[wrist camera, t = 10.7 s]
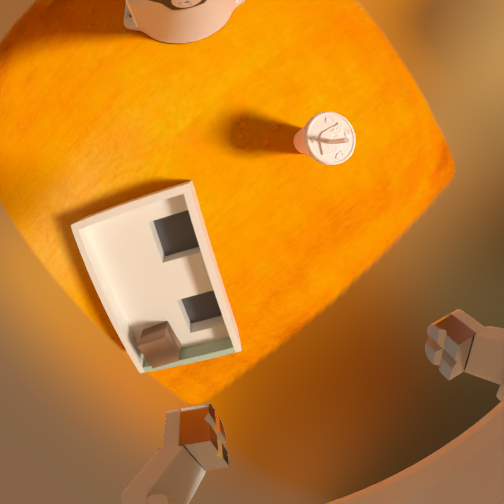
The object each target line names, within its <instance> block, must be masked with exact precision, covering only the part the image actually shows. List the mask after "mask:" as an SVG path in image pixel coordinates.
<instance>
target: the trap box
mask: <svg viewBox="0 0 504 504" xmlns="http://www.w3.org/2000/svg"><path fill="white" fill-rule="evenodd" d="M70 226H71V229H72V232H73V234H74V237H75V240H76V243H77V245H78V248H79V251H80V253H81V256H82V258H83V261H84V263H85V266H86V268H87V271H88V273H89V275H90V278H91V280H92V282H93V285H94V287H95V289H96V291H97V294H98V296H99V298H100V300H101V302H102V304H103V306H104V308H105V311H106V313H107V315H108V317H109V319H110V321H111V323H112V325H113V326H114V328H115V330H116V332H117V334H118V336H119V338H120V340H121V341H122V343H123V345H124V347H125V349H126V350H127V352H128V354H129V356H130V357H131V359H132V361H133V363H134V364H135V366H136V368H137V369H138V371H139V372H140V373H144V372H149V371H155V370H160V369H165V368H170V367H175V366H180V365H184V364H189V363H193V362H198V361H202V360H206V359H211V358H215V357H219V356H223V355H227V354H231V353H235V352H238V351H242V349H241V343H240V338H239V333H238V328H237V325H236V322H235V319H234V316H233V313H232V310H231V307H230V304H229V301H228V298H227V295H226V291H225V288H224V285H223V282H222V279H221V276H220V272H219V269H218V266H217V263H216V260H215V256H214V253H213V250H212V246H211V243H210V240H209V236H208V233H207V230H206V226H205V223H204V220H203V216H202V213H201V209H200V206H199V202H198V199H197V195H196V192H195V188H194V185H193V181H192V180H191V181H187V182H184V183H181V184H177V185H174V186H171V187H168V188H165V189H161V190H158V191H155V192H152V193H149V194H146V195H143V196H140V197H137V198H134V199H132V200H129V201H126V202H123V203H120V204H118V205H115V206H112V207H109V208H107V209H104V210H101V211H99V212H96V213H94V214H91V215H88V216H86V217H84V218H82V219H81V220H79V221H77V222H75V223H73V224H71V225H70ZM166 321H168V322H169V324H170V326H171V328H172V329H173V331H174V333H175V334H176V336H177V338H178V339H179V341H180V343H181V345H180V355H179V361H177V362H173V363H170V364H167V365H163V366H160V367H156V368H152V367H151V365H150V364H149V362H148V361H147V360H146V358H145V357H144V355H143V354H142V352H141V351H140V349H139V348H138V343H139V340H140V337H141V334H142V331H143V329H146V328H149V327H152V326H155V325H158V324H160V323H163V322H166Z"/></svg>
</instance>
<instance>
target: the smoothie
mask: <svg viewBox="0 0 504 504" xmlns="http://www.w3.org/2000/svg"><path fill="white" fill-rule="evenodd" d="M355 142H356V138H355V133H354V130H353V127H352V126H351V124H350V123H349V121H348V120H347V119H346V118H344V117H343V116H342V115H340V114H337V113H334V112H322V113H319V114H316V115H315V116H313V117H312V118H311V119H310V120H309V121H308V122H307V124H306V126H304V127H303V128H302V129H301V130H299V131H298V132H297V133H296V134H295V136H294V139H293V144H294V147H295V148H296V150H297V151H298V152H300V153H302V154H305V155H308V156H310V157H313V158H314V159H315V160H316V161H318V162H320V163H322V164H327V165H336V164H340V163H342V162H344V161H346V160H347V159H348V158H349V157H350V156H351V155H352V153H353V151H354V148H355Z"/></svg>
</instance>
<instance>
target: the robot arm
mask: <svg viewBox="0 0 504 504" xmlns="http://www.w3.org/2000/svg"><path fill="white" fill-rule="evenodd" d="M125 1H126V3H125V11H124V20H123V23H124V26H125V28H127V29H130V30H137V31H142V32H144V33H145V34H147V35H148V36H150V37H152V38H153V39H156V40H158V41H161V42H166V43H188V42H193V41H197V40H200V39H203V38H205V37H208V36H210V35H212V34H213V33H215V32H216V31H218V30H219V29H220V28H221V27H222V26H223V25H224V24H225V23H226V22H227V21H228V19H229V18H230V16H231V14H232V12H233V10H234V9H235V8H236V7H238V6H239V5H241V4H242V3H243V2H244V1H245V0H125ZM130 16H132V17H130ZM427 334H428V335H429V336H430V337H429V338H428V340H427V342H426V348H425V350H426V354H427V357H428V359H429V360H430V361H431V362H432V363H433V364H435V365H439V371H440V372H441V373H442V374H443V375H444V376H445V377H446V378H447V379H448V380H451V379H452V378H454V377H455V376H457V375H458V374H460V373H462V372H463V371H465V372H466V373H469V374H472V375H475V376H478V377H480V378H483V379H486V380H489V381H492V382H494V383H497V384H500V385H501V386H500V388H499V391H498V393H497V397H498V399H499V400H500V401H501V402H500V403H499V404H498V405H497V406H496V407H495V408H494V409H493V410H492V411H490V412H489V413H488V414H487V415H486V416H484V417H483V418H482V419H481V420H480V421H478V422H477V423H476V424H474V425H473V426H472V427H470V428H469V429H468V430H467V431H465V432H464V433H463V434H461V435H460V436H458V437H457V438H456V439H454V440H453V441H451V442H450V443H448V444H447V445H445V446H444V447H442V448H441V449H439V450H438V451H436V452H435V453H433V454H431V455H430V456H428V457H426V458H425V459H423V460H421V461H420V462H418V463H416V464H414V465H413V466H411V467H409V468H407V469H405V470H403V471H401V472H400V473H398V474H396V475H394V476H392V477H390V478H388V479H386V480H383V481H381V482H379V483H377V484H375V485H373V486H370V487H368V488H366V489H363V490H361V491H358V492H356V493H353V494H351V495H348V496H346V497H343V498H340V499H337V500H335V501H332V502H329V503H326V504H504V329H502V328H496V327H490V326H487V327H484V326H482V325H481V324H480V323H478V322H477V321H476V320H474V319H473V318H472V317H470V316H469V315H467V314H466V313H465V312H463V311H462V310H459V309H457V310H456V311H454V312H452V313H451V314H449V315H447V316H445V317H443V318H441V319H440V320H438V321H436V322H434V323H433V324H431V325H430V326H429V328H428V332H427ZM225 442H226V435H225V431H224V427H223V424H222V422H221V420H220V418H219V417H217V416H215V409H214V408H213V406H212V405H211V404H206V405H200V406H194V407H187V408H182V409H175V410H168V412H167V414H166V420H165V432H164V443H163V448H159V449H158V451H157V452H156V453H155V454H154V455H153V457H152V458H151V459H150V460H149V461H148V463H147V464H146V465H145V466H144V467H143V469H142V470H141V471H140V472H139V473H138V475H137V476H136V477H135V478H134V480H133V481H132V482H131V483H130V484H129V485H128V487H127V488H126V489H125V490H124V491H123V492H122V497H121V504H188V503H189V502H190V500H191V498H192V496H193V495H194V493H195V491H196V489H197V487H198V485H199V484H200V482H201V480H202V478H203V476H204V474H205V473H206V472H205V471H207V470H212V469H219V468H224V467H229V460H228V452H227V450H226V448H225V447H224V444H225Z"/></svg>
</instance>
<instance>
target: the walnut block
mask: <svg viewBox="0 0 504 504" xmlns="http://www.w3.org/2000/svg"><path fill="white" fill-rule="evenodd" d="M180 345H181V343H180V341H179V339H178V338H177V336H176V334H175V333H174V331H173V329H172V328H171V326H170V324H169V322H168V321H166V322H163V323H160V324H158V325H155V326H152V327H149V328H146V329H143V331H142V334H141V337H140V340H139V343H138V348H139V349H140V351H141V352H142V354H143V355H144V357H145V358H146V360H147V361H148V362H149V364H150V365H151V367H152V368H156V367H160V366H163V365H167V364H170V363H173V362H177V361H179V355H180Z"/></svg>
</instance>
